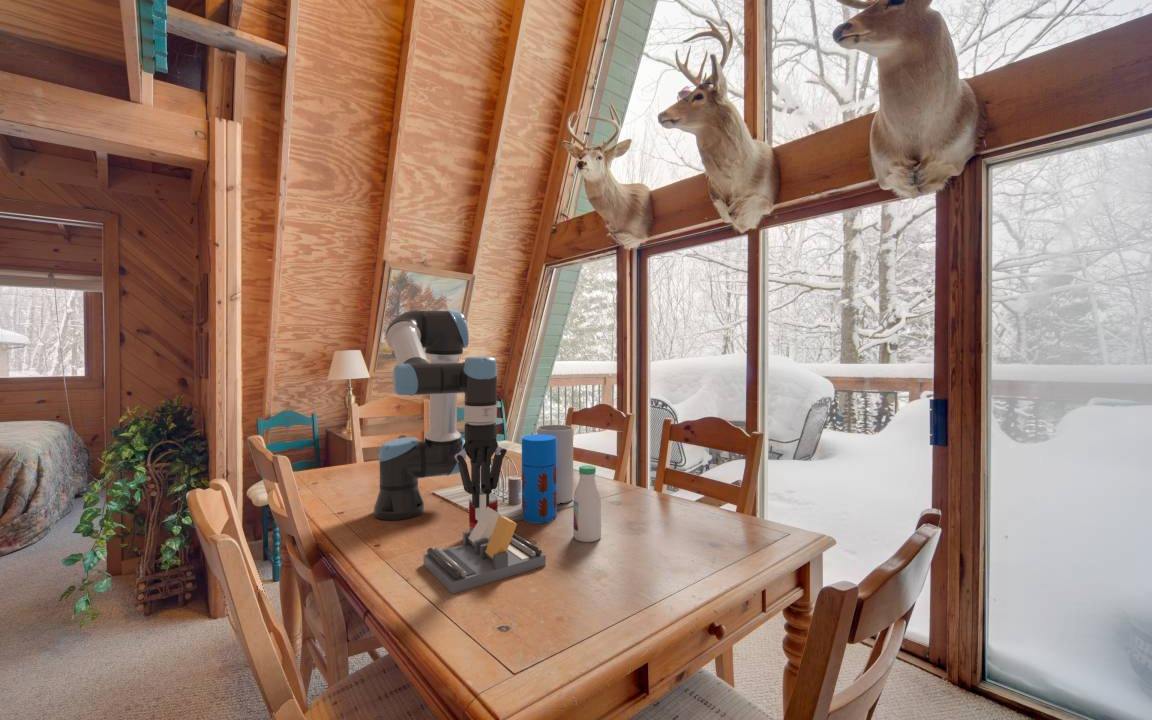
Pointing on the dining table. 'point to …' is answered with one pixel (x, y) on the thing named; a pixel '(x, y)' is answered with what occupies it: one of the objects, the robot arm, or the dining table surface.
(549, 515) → the thermos
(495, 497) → the canned food
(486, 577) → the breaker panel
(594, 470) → the milk bottle
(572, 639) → the dining table surface
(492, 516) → the block
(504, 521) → the block
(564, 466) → the cylinder vase
